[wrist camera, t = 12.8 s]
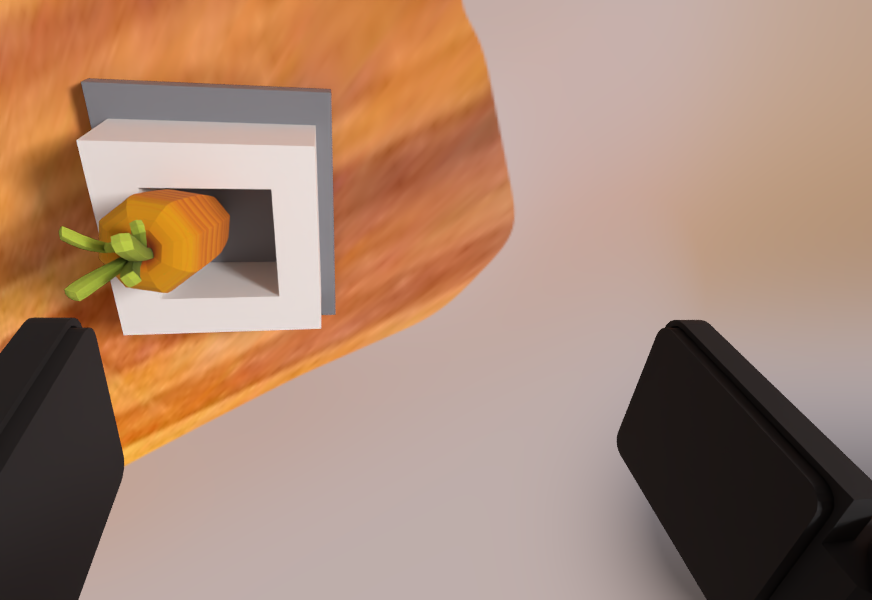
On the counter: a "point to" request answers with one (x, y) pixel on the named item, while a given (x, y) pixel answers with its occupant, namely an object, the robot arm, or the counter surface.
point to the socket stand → (223, 196)
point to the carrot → (152, 241)
